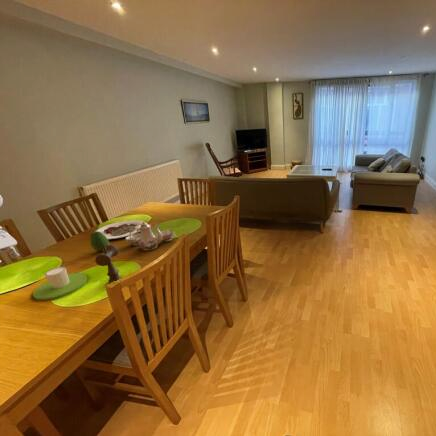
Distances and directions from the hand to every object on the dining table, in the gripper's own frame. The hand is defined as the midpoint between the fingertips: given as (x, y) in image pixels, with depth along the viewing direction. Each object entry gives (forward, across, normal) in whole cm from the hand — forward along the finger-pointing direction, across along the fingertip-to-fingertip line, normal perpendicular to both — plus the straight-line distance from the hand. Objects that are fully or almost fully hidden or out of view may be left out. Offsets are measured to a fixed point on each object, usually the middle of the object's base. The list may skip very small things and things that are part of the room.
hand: (8, 260), depth 91 cm
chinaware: (+30, +39, -30) cm, 58 cm away
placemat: (+19, +12, +2) cm, 22 cm away
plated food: (+13, +68, -16) cm, 71 cm away
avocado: (+16, +42, -9) cm, 46 cm away
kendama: (+31, +7, -16) cm, 36 cm away
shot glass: (+18, +12, +1) cm, 22 cm away
